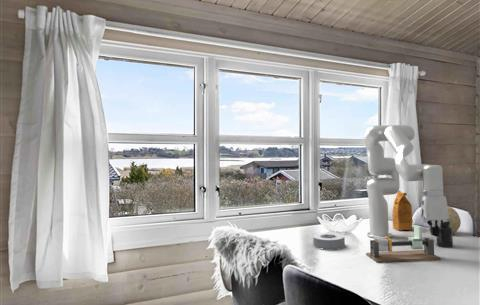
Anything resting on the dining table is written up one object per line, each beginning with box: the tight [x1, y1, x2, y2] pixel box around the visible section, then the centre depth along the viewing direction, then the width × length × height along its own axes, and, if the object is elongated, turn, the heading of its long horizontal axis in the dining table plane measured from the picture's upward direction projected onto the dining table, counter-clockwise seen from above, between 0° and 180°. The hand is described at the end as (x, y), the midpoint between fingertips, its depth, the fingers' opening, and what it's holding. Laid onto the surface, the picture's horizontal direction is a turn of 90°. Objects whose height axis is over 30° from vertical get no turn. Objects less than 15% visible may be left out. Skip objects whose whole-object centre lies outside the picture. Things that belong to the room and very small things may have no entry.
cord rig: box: [365, 237, 442, 264], centre depth 158 cm, size 12×27×9 cm, turn 92°
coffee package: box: [392, 190, 414, 232], centre depth 214 cm, size 10×12×22 cm
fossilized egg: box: [434, 206, 462, 234], centre depth 198 cm, size 13×13×15 cm
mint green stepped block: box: [407, 224, 424, 250], centre depth 158 cm, size 4×4×9 cm
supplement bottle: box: [435, 221, 454, 248], centre depth 174 cm, size 7×7×12 cm
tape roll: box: [312, 232, 346, 250], centre depth 182 cm, size 15×15×5 cm
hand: (435, 235), depth 158 cm, fingers closed
